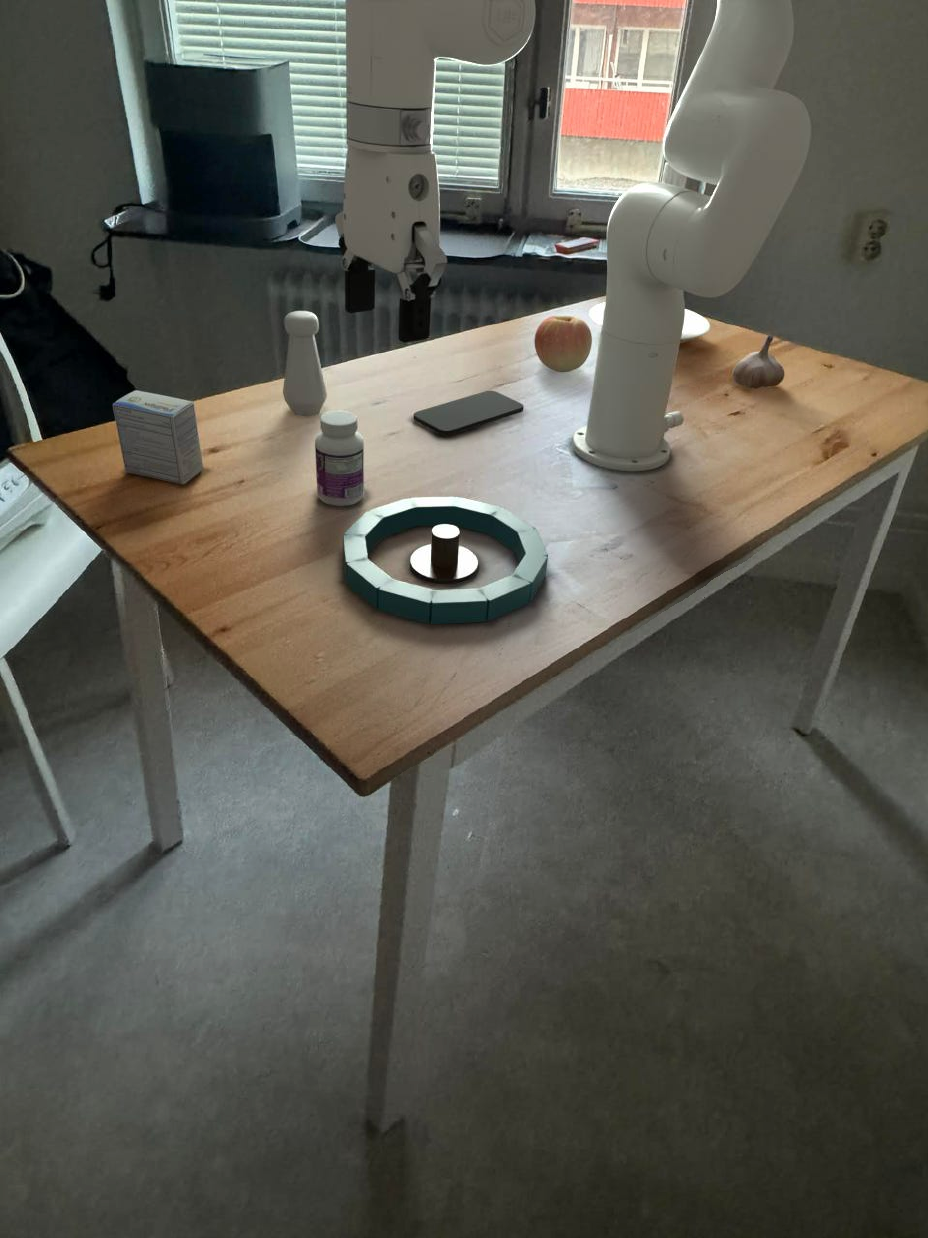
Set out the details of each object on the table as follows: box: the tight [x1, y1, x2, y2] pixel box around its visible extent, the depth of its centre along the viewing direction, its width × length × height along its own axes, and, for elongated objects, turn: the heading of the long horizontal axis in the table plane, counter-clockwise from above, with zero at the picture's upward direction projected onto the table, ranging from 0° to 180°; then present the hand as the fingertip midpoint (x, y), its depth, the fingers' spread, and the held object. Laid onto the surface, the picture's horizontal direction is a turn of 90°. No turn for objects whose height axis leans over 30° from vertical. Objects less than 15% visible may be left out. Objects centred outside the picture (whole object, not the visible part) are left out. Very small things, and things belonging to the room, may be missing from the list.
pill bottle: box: [314, 409, 365, 507], centre depth 98 cm, size 5×5×10 cm
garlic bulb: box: [732, 334, 785, 390], centre depth 135 cm, size 8×7×8 cm
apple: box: [533, 315, 593, 373], centre depth 136 cm, size 9×9×8 cm
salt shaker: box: [282, 310, 328, 418], centre depth 116 cm, size 6×6×13 cm
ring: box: [342, 496, 549, 625], centre depth 90 cm, size 20×20×2 cm
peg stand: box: [409, 524, 479, 585], centre depth 89 cm, size 7×7×4 cm
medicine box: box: [112, 390, 204, 486], centre depth 101 cm, size 8×4×9 cm, turn 71°
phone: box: [413, 390, 525, 437], centre depth 121 cm, size 7×1×15 cm
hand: (386, 324), depth 87 cm, fingers open, 9 cm apart
